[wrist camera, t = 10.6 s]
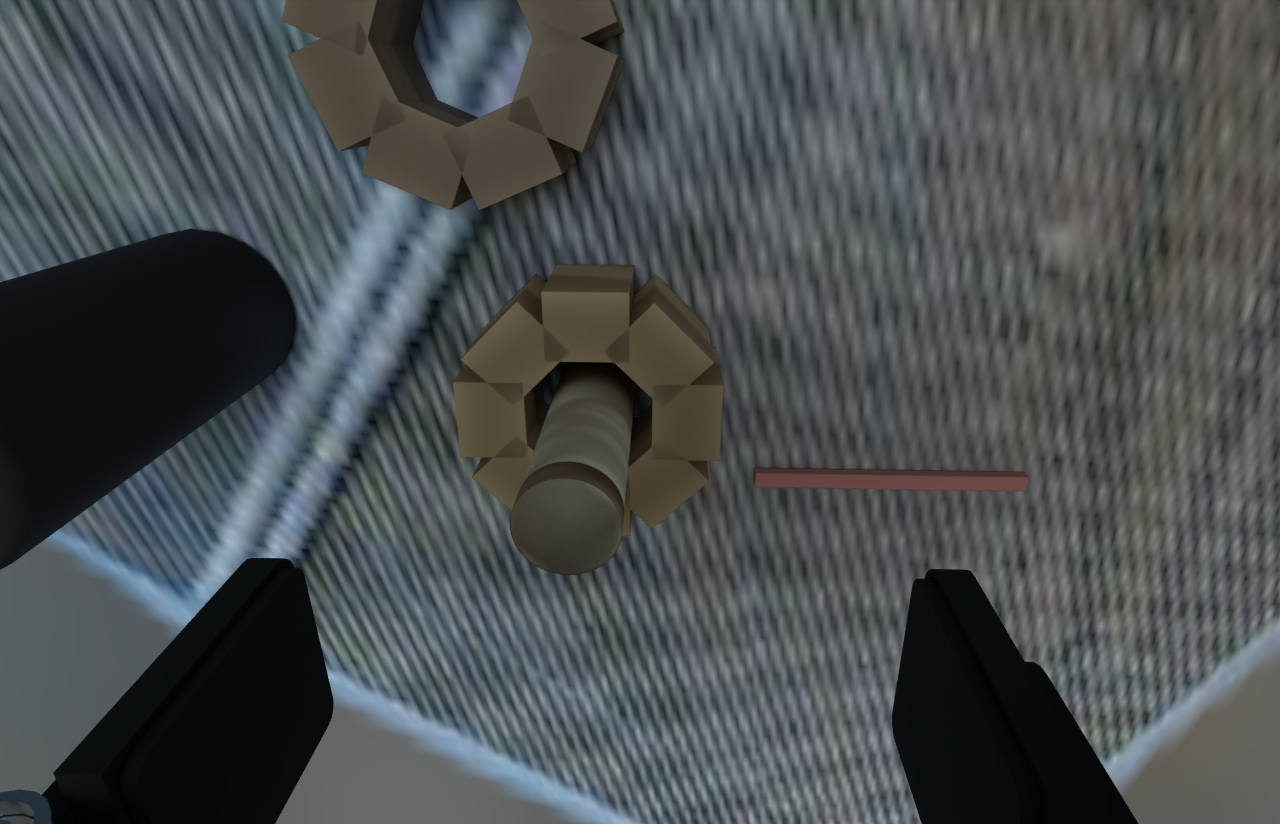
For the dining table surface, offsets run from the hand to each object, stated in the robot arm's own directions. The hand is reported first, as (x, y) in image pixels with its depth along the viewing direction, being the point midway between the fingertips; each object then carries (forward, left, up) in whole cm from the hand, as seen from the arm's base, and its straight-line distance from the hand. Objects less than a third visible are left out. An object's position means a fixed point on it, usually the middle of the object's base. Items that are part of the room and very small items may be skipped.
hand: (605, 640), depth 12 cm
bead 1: (+6, -9, -21) cm, 24 cm away
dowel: (+2, +4, -21) cm, 22 cm away
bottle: (+18, +1, -22) cm, 28 cm away
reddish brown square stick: (-11, +8, -21) cm, 25 cm away
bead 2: (+2, +4, -21) cm, 22 cm away
